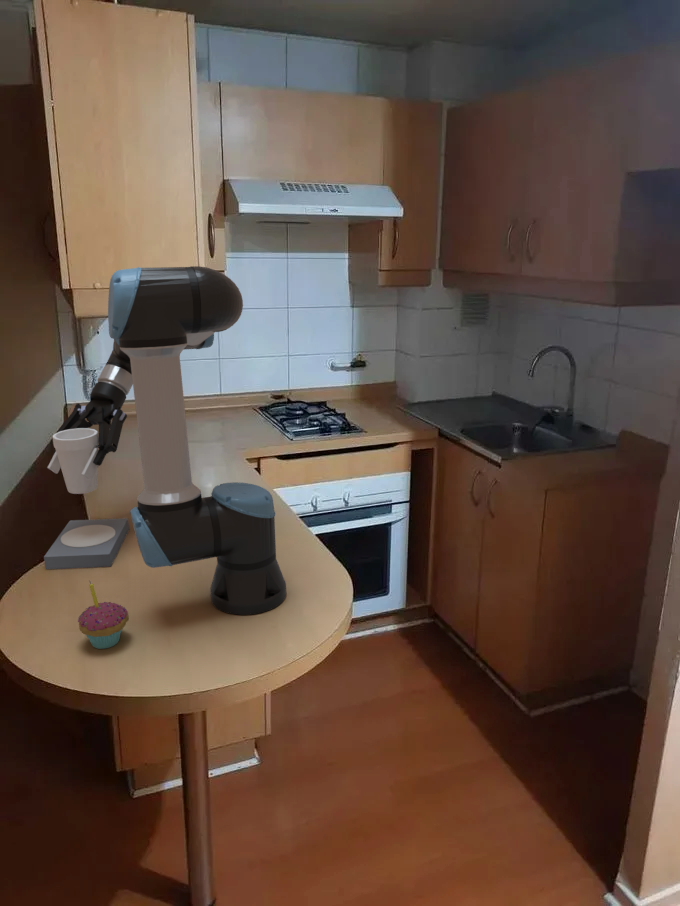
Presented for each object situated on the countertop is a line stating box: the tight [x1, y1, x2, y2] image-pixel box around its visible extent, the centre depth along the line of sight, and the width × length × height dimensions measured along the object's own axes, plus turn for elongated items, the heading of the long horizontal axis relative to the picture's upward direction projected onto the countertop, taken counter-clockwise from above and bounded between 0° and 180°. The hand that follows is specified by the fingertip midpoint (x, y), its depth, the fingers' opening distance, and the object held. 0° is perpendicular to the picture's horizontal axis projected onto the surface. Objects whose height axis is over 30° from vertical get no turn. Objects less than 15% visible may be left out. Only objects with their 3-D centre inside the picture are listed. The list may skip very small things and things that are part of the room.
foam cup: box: [52, 428, 99, 495], centre depth 158 cm, size 10×9×13 cm
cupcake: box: [77, 579, 130, 650], centre depth 126 cm, size 9×8×12 cm
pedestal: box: [43, 517, 130, 570], centre depth 164 cm, size 20×14×3 cm
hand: (69, 473), depth 156 cm, fingers closed on foam cup, 9 cm apart
